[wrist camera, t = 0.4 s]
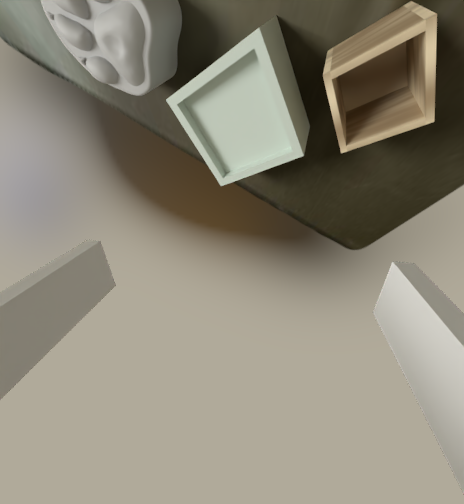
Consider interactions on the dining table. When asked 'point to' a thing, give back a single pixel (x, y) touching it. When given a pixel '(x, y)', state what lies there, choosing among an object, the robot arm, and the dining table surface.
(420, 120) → the birch crate
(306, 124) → the pale green square box
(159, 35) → the lumpy-topped squat cylinder
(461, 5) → the dining table surface
